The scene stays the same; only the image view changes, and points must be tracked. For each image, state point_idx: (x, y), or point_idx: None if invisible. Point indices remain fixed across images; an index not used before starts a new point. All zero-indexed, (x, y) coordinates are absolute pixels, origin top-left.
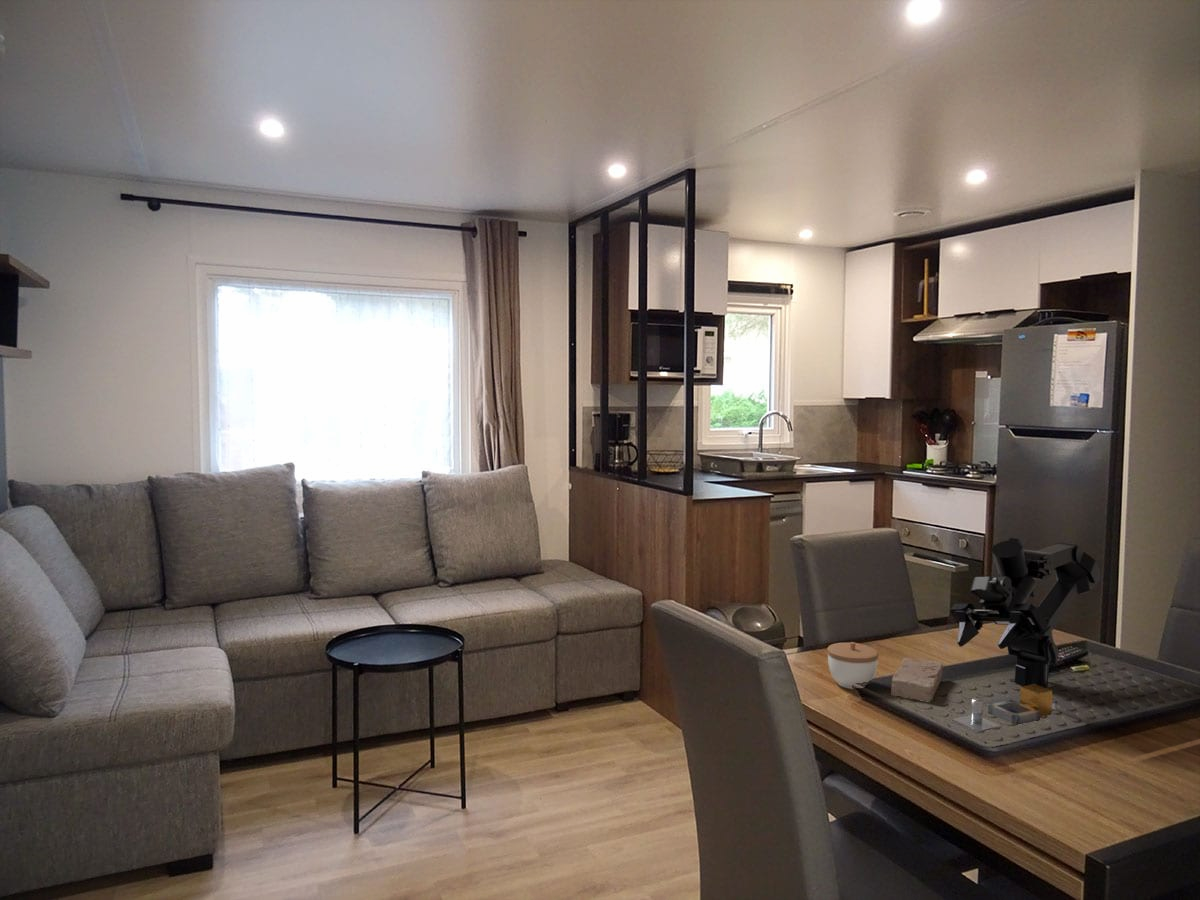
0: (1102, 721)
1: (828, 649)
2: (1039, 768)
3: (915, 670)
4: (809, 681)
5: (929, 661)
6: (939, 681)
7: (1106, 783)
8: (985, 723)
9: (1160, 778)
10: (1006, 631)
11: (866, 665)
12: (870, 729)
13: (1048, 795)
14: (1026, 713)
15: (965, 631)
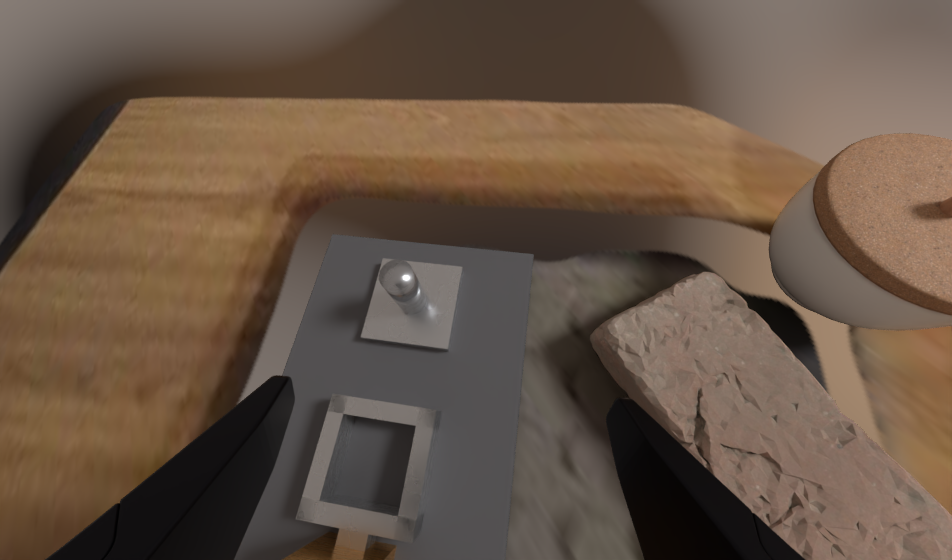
0: None
1: None
2: (238, 251)
3: (781, 429)
4: None
5: None
6: None
7: (117, 303)
8: (394, 314)
9: (6, 437)
10: (159, 497)
11: (804, 210)
12: (544, 126)
13: (200, 178)
14: (321, 451)
15: (698, 540)
